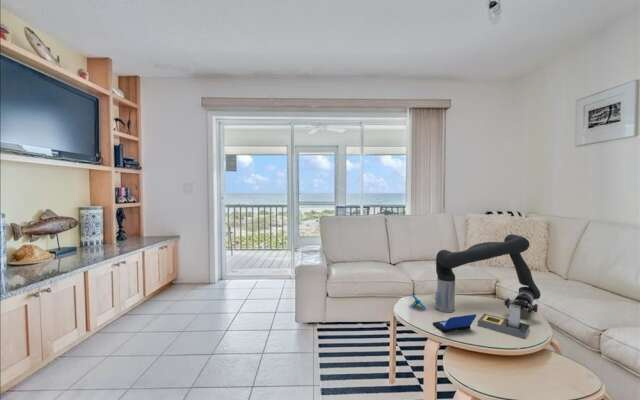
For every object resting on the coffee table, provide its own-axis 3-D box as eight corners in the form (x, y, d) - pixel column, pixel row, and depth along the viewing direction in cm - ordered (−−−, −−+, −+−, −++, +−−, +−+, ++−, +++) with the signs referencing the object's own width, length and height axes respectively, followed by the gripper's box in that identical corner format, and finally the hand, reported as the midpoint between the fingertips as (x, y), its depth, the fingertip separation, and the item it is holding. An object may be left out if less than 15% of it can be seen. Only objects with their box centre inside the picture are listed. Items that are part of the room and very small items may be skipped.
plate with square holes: (477, 325, 156) (477, 320, 156) (484, 318, 165) (484, 313, 165) (525, 338, 142) (525, 333, 142) (529, 330, 151) (529, 324, 151)
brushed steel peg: (508, 330, 150) (509, 306, 150) (510, 328, 153) (510, 304, 153) (517, 333, 148) (518, 308, 147) (519, 330, 151) (520, 306, 150)
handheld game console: (457, 321, 161) (458, 303, 161) (477, 333, 148) (477, 314, 148) (431, 325, 157) (431, 306, 156) (448, 337, 144) (449, 317, 144)
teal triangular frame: (428, 309, 172) (415, 295, 174) (420, 316, 172) (407, 302, 174) (424, 304, 183) (412, 291, 184) (417, 311, 183) (404, 298, 185)
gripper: (509, 290, 175) (502, 298, 163) (540, 296, 165) (535, 305, 153) (508, 303, 175) (502, 312, 163) (539, 310, 166) (535, 320, 154)
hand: (518, 309), depth 158 cm, fingers open, 8 cm apart
